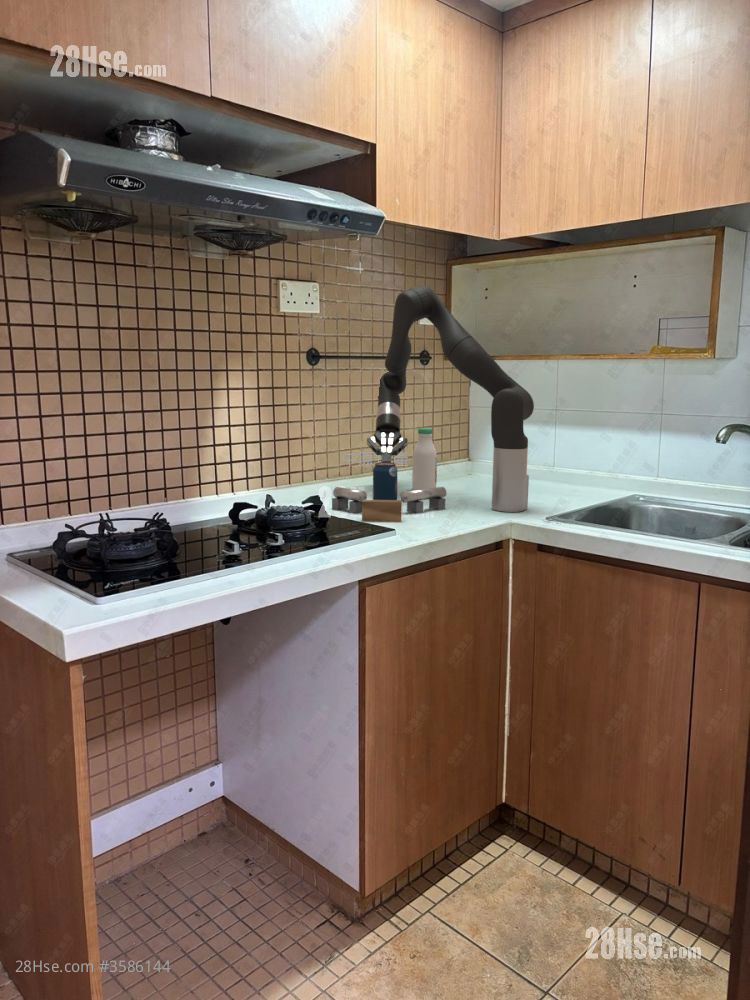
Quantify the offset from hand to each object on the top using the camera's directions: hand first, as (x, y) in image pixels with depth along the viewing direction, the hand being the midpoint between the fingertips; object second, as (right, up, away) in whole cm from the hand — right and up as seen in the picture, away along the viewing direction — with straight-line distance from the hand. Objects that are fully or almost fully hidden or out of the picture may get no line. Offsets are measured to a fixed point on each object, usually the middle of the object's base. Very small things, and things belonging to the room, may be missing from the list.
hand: (386, 464), depth 212 cm
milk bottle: (+13, -8, +18) cm, 23 cm away
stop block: (-2, -16, -28) cm, 32 cm away
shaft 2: (+10, -13, -16) cm, 23 cm away
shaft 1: (-10, -13, -16) cm, 23 cm away
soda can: (0, -12, -8) cm, 14 cm away
